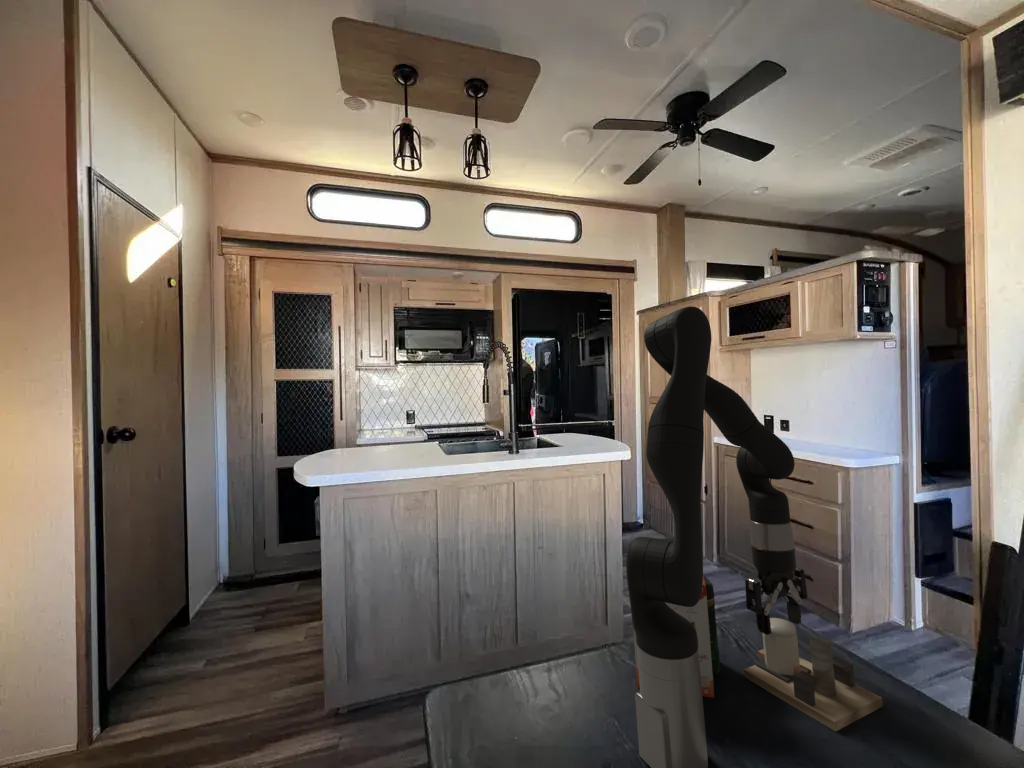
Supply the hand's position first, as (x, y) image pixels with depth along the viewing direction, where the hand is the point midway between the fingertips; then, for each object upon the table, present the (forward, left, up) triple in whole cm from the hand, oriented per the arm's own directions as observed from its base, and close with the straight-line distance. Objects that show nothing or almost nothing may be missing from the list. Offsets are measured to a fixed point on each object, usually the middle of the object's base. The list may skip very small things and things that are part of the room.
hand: (780, 627), depth 88 cm
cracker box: (-20, +8, -10) cm, 24 cm away
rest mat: (0, 0, -8) cm, 8 cm away
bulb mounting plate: (0, -5, -10) cm, 11 cm away
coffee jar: (-11, +11, -10) cm, 19 cm away
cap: (0, 0, -8) cm, 8 cm away
